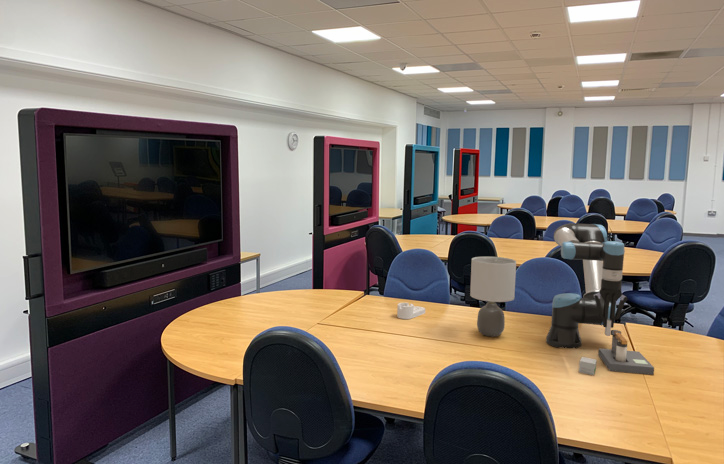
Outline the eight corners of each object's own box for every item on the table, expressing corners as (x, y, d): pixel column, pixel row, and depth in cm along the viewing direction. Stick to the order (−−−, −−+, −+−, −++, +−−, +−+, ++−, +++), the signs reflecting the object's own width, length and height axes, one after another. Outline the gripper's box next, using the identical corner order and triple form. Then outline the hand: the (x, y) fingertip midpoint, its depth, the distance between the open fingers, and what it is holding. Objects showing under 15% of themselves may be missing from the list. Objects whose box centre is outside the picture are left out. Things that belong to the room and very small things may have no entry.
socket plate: (609, 370, 199) (611, 346, 197) (598, 354, 216) (600, 332, 215) (653, 374, 195) (655, 349, 194) (638, 358, 213) (640, 335, 212)
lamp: (465, 337, 236) (468, 261, 232) (472, 325, 255) (475, 255, 251) (510, 343, 229) (514, 265, 224) (514, 330, 248) (518, 258, 243)
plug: (616, 367, 202) (618, 344, 201) (613, 364, 206) (615, 341, 204) (626, 368, 201) (628, 345, 200) (623, 365, 205) (625, 341, 204)
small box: (594, 375, 194) (594, 363, 193) (578, 372, 197) (579, 360, 196) (596, 371, 199) (596, 359, 198) (580, 367, 202) (581, 356, 201)
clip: (618, 343, 200) (619, 340, 199) (609, 332, 213) (609, 329, 213) (629, 344, 199) (630, 341, 199) (619, 333, 212) (619, 330, 212)
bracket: (407, 320, 264) (407, 307, 263) (394, 316, 269) (394, 304, 268) (427, 312, 279) (428, 300, 278) (414, 309, 284) (415, 298, 284)
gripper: (596, 280, 202) (592, 336, 204) (631, 282, 199) (627, 339, 202) (592, 276, 209) (588, 330, 212) (626, 278, 206) (621, 333, 209)
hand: (607, 334), depth 207 cm, fingers closed
